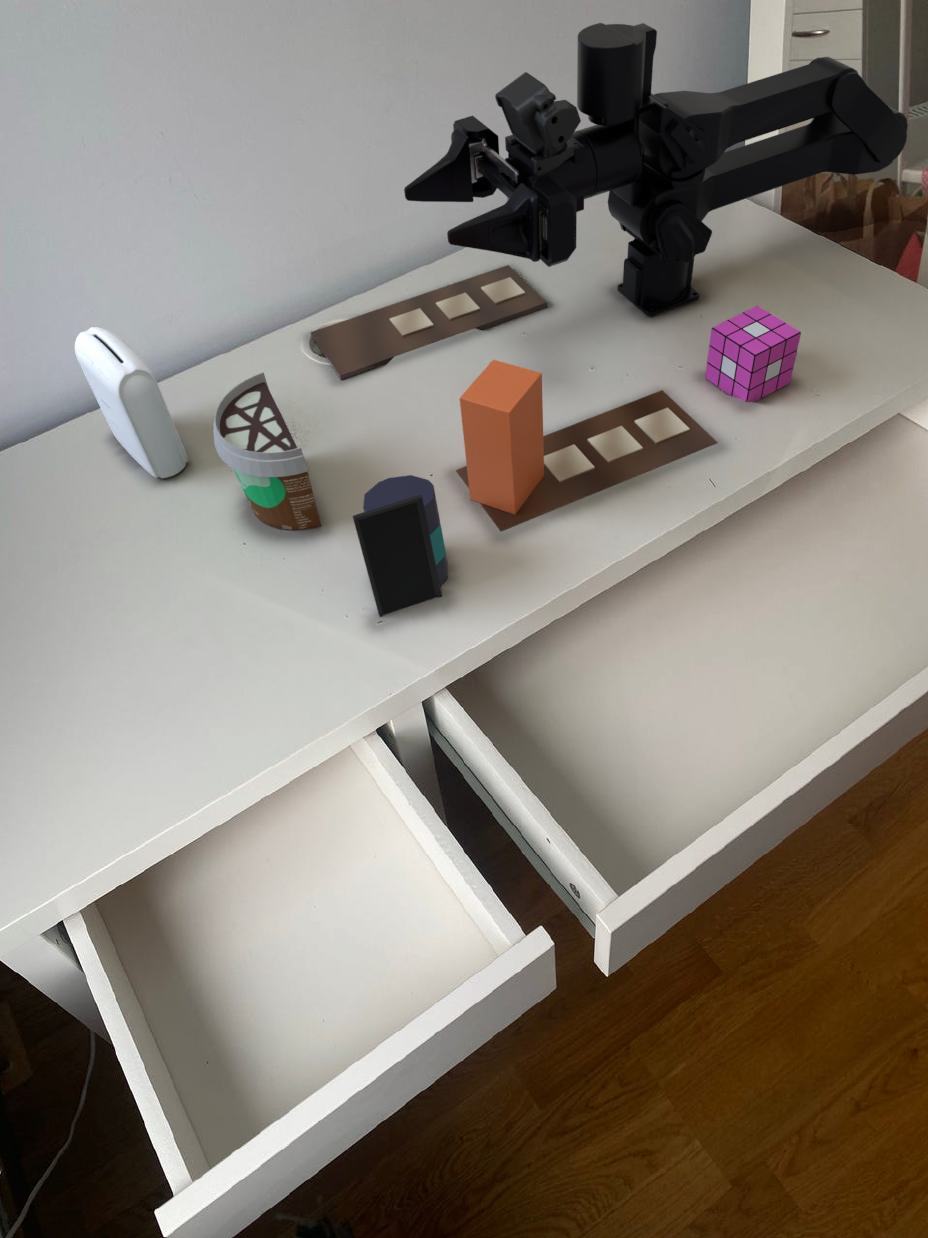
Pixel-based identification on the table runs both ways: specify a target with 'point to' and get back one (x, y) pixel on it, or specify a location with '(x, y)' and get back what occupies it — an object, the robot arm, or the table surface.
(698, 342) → the table surface
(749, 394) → the puzzle toy
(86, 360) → the photo printer
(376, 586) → the speaker
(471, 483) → the tall orange brick
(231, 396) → the food container
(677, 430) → the word board
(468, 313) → the word board
